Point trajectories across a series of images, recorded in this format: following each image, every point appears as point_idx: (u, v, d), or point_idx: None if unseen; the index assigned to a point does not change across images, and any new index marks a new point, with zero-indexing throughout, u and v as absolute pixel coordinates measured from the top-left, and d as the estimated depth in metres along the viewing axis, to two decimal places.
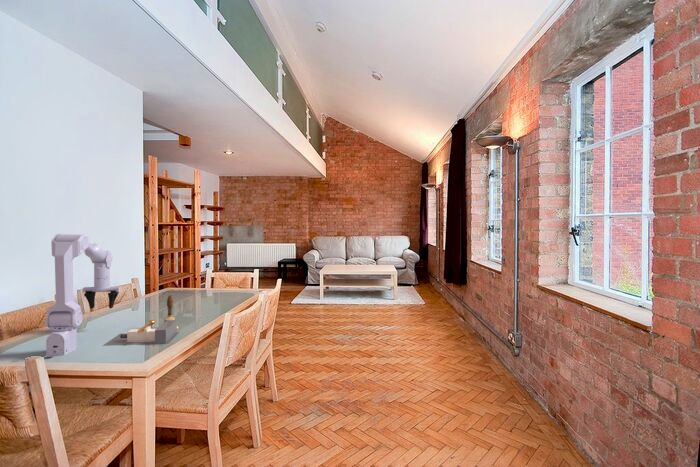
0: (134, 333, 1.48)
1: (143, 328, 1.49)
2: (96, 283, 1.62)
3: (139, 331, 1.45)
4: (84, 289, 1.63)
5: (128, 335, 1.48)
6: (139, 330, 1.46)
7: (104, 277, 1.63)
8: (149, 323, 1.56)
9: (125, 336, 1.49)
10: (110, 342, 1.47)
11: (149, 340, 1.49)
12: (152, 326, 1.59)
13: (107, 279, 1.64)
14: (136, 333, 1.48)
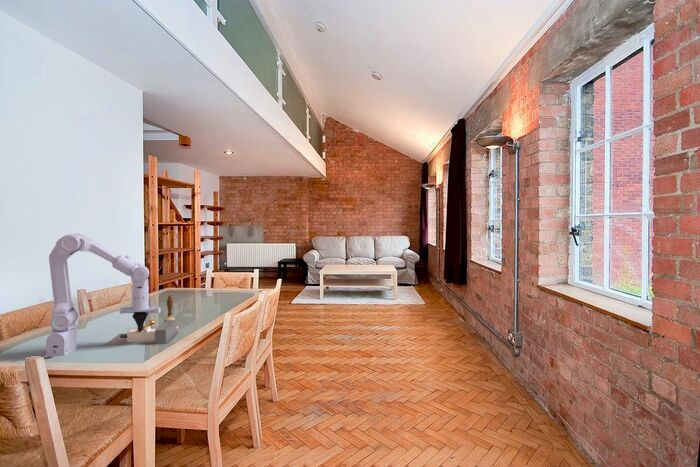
0: (134, 333, 1.48)
1: None
2: (134, 304, 1.44)
3: (137, 331, 1.45)
4: (121, 310, 1.45)
5: (128, 335, 1.48)
6: (137, 330, 1.45)
7: (133, 297, 1.44)
8: (148, 323, 1.56)
9: (125, 336, 1.49)
10: (110, 342, 1.47)
11: (149, 340, 1.49)
12: (152, 326, 1.59)
13: (146, 299, 1.46)
14: (136, 333, 1.48)
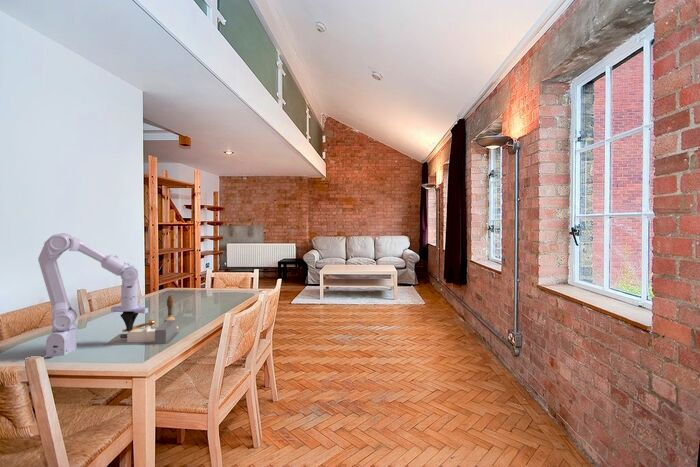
0: (134, 333, 1.48)
1: None
2: (122, 303, 1.45)
3: (123, 330, 1.46)
4: (112, 309, 1.47)
5: (128, 335, 1.48)
6: (124, 329, 1.46)
7: (123, 296, 1.44)
8: (145, 323, 1.56)
9: (125, 336, 1.49)
10: (110, 342, 1.47)
11: (149, 340, 1.49)
12: (152, 326, 1.59)
13: (134, 299, 1.46)
14: (136, 333, 1.48)
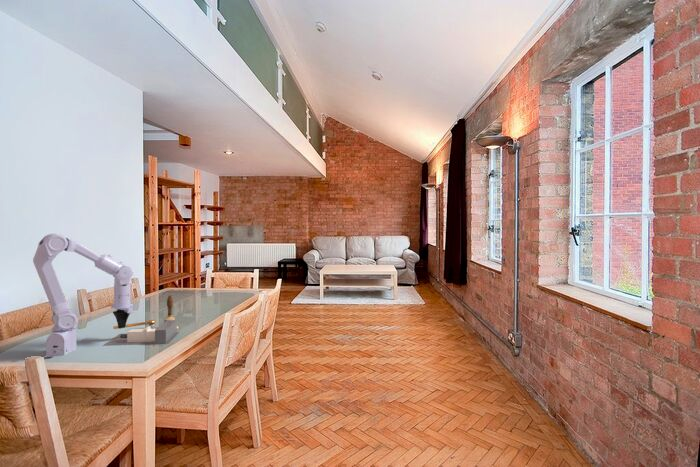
0: (134, 333, 1.48)
1: None
2: None
3: (113, 327, 1.50)
4: (111, 305, 1.54)
5: (128, 335, 1.48)
6: (114, 326, 1.50)
7: (117, 295, 1.48)
8: (142, 322, 1.56)
9: (125, 336, 1.49)
10: (110, 342, 1.47)
11: (149, 340, 1.49)
12: (152, 326, 1.59)
13: (123, 297, 1.48)
14: (136, 333, 1.48)
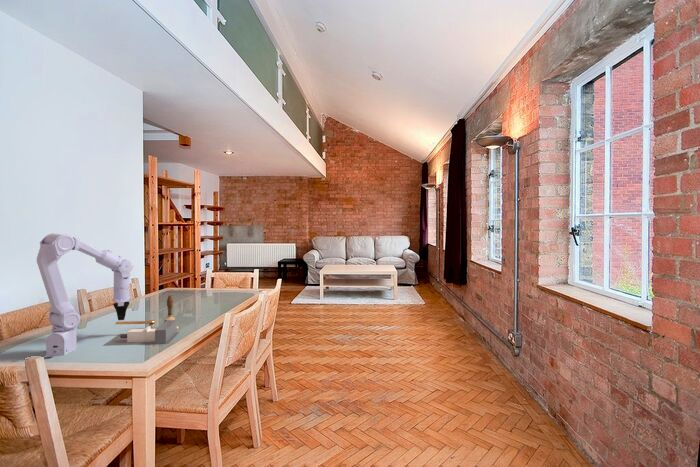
0: (134, 333, 1.48)
1: (124, 322, 1.57)
2: None
3: None
4: None
5: (128, 335, 1.48)
6: (116, 322, 1.57)
7: (119, 287, 1.53)
8: (142, 321, 1.58)
9: (125, 336, 1.49)
10: (110, 342, 1.47)
11: (149, 340, 1.49)
12: (152, 326, 1.59)
13: (118, 290, 1.53)
14: (136, 333, 1.48)
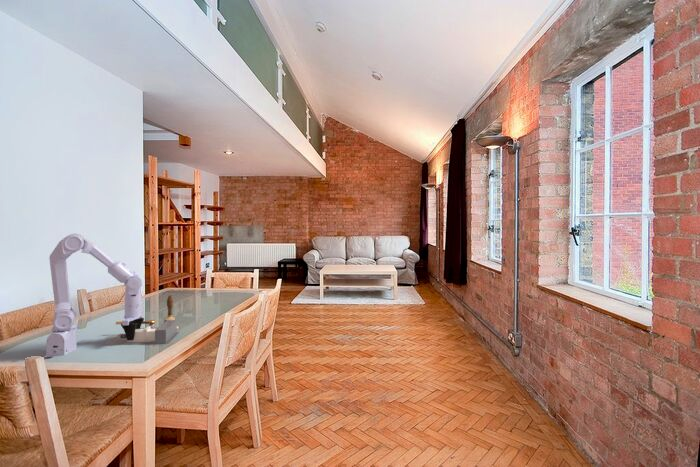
0: None
1: None
2: None
3: None
4: None
5: None
6: (116, 322, 1.57)
7: (127, 305, 1.47)
8: None
9: (125, 336, 1.49)
10: (110, 342, 1.47)
11: (149, 340, 1.49)
12: (152, 326, 1.59)
13: (127, 308, 1.47)
14: (136, 333, 1.48)
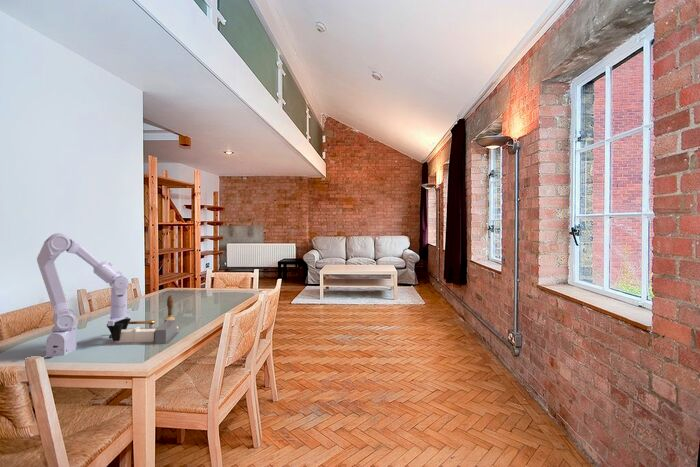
0: (123, 333, 1.47)
1: None
2: None
3: None
4: None
5: None
6: None
7: (113, 305, 1.46)
8: (142, 321, 1.58)
9: None
10: (110, 342, 1.47)
11: (138, 340, 1.48)
12: (152, 326, 1.59)
13: (113, 308, 1.46)
14: (125, 333, 1.47)
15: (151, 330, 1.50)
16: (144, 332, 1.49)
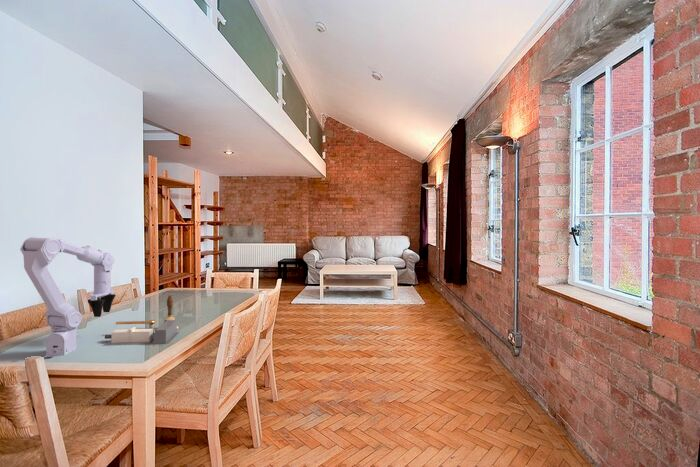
0: (118, 333, 1.47)
1: (124, 322, 1.57)
2: None
3: None
4: None
5: (112, 335, 1.47)
6: (116, 322, 1.57)
7: (101, 281, 1.50)
8: (142, 321, 1.58)
9: (109, 336, 1.48)
10: (110, 342, 1.47)
11: (134, 340, 1.48)
12: (152, 326, 1.59)
13: (96, 284, 1.50)
14: (120, 333, 1.47)
15: (147, 330, 1.50)
16: (140, 332, 1.48)
